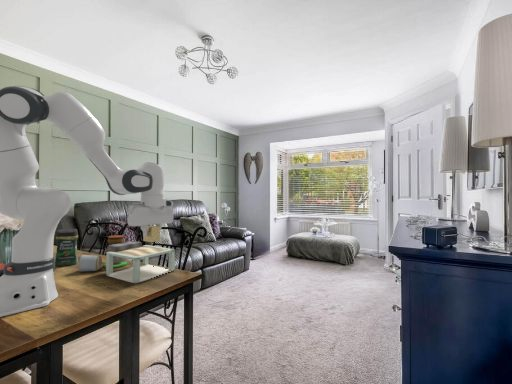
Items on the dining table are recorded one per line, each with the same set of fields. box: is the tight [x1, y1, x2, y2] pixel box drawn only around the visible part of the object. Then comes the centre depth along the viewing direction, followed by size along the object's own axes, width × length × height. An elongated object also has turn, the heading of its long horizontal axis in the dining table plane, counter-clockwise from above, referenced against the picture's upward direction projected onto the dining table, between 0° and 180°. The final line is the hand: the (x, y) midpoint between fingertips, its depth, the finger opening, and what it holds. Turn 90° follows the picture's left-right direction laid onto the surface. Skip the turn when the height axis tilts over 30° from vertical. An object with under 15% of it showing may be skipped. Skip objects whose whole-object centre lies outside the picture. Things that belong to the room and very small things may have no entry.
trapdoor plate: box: [107, 240, 165, 258], centre depth 127 cm, size 16×24×5 cm
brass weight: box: [142, 225, 161, 243], centre depth 111 cm, size 4×5×6 cm
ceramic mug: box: [77, 254, 103, 272], centre depth 130 cm, size 11×8×8 cm
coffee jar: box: [54, 228, 79, 267], centre depth 140 cm, size 10×8×19 cm
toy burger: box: [103, 234, 130, 269], centre depth 139 cm, size 12×13×15 cm
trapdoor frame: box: [105, 244, 176, 284], centre depth 125 cm, size 21×21×10 cm
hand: (151, 235), depth 111 cm, fingers closed on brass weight, 4 cm apart
